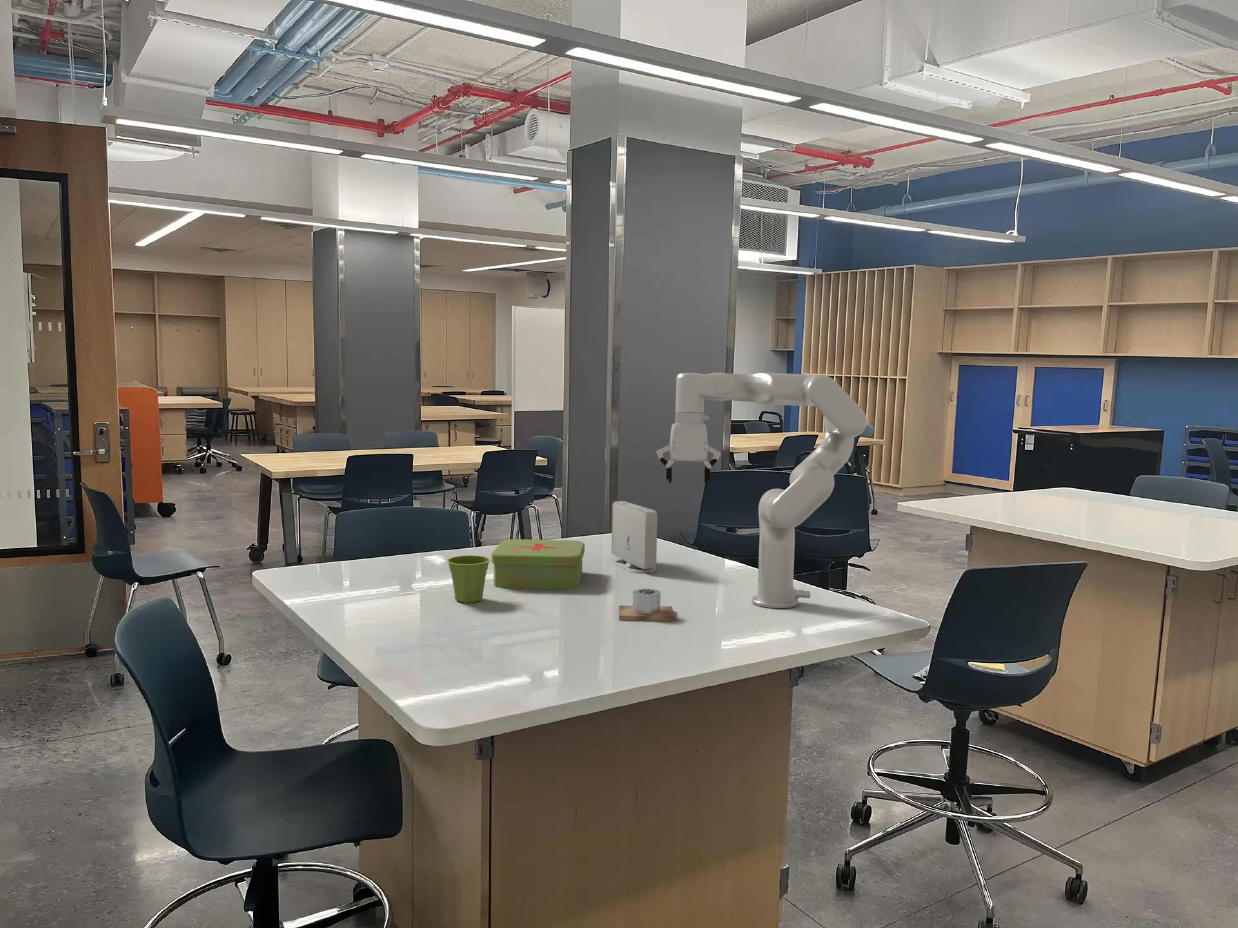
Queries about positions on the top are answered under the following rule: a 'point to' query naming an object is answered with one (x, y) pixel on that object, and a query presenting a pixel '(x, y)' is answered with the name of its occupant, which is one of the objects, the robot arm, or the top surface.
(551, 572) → the first aid kit
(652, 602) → the steel ring
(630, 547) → the network device
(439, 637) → the top surface
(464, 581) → the plant pot
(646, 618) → the post block
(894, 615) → the top surface
